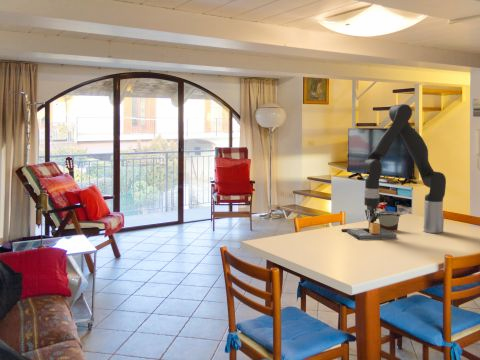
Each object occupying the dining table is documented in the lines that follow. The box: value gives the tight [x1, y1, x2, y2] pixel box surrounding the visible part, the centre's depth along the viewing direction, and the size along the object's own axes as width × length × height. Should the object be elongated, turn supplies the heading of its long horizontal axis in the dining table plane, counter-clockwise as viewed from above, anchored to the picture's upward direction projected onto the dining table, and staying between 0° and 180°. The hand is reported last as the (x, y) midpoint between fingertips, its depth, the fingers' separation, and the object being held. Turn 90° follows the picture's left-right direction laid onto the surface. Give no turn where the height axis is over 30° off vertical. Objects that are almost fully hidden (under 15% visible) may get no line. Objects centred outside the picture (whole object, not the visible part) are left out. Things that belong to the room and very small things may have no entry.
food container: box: [378, 210, 401, 232], centre depth 266 cm, size 12×6×10 cm, turn 84°
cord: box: [346, 230, 359, 240], centre depth 250 cm, size 17×1×1 cm, turn 7°
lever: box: [368, 222, 380, 235], centre depth 247 cm, size 4×4×7 cm
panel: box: [346, 227, 398, 241], centre depth 252 cm, size 20×18×2 cm
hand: (371, 228), depth 252 cm, fingers closed
